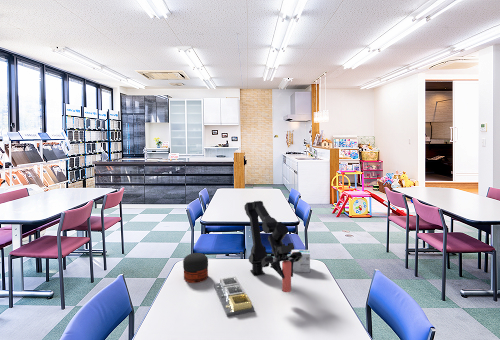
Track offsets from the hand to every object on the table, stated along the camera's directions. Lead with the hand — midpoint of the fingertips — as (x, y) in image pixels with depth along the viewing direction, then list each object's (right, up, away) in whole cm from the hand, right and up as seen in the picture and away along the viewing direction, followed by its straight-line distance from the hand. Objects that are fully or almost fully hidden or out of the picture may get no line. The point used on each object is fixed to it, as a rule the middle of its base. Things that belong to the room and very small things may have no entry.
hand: (288, 277), depth 136 cm
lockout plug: (0, -6, +2) cm, 7 cm away
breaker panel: (-25, -12, +7) cm, 28 cm away
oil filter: (-46, -10, +29) cm, 55 cm away
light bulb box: (+11, -9, +38) cm, 40 cm away
